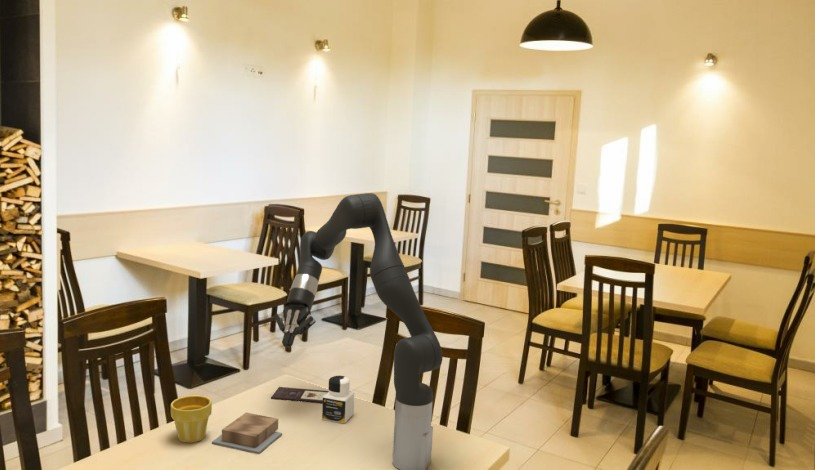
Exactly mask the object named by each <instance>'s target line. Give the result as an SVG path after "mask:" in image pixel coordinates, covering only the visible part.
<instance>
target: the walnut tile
mask: <svg viewBox="0 0 815 470" xmlns="http://www.w3.org/2000/svg"><path fill="white" fill-rule="evenodd" d="M278 429H279V418H276V417H271V416H266V415H261V414H257V413H251V412H245V413H243V414H242V415H240V416H239V417H238V418H236V419H234V420H233V421H232V422H231V423H229V424H227V425H226V426H225V427H223V428H222V429H221V435H222V441H227V442H231V443H236V444H241V445H245V446H250V447H255V448H256V447H257V446H258V445H259V444H261V443H262V442H263V441H264V440H265V439H267V438H268V437H269V436H270V435H271V434H273V433H274V432H277V431H278Z"/></svg>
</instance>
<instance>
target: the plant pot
mask: <svg viewBox="0 0 815 470" xmlns="http://www.w3.org/2000/svg"><path fill="white" fill-rule="evenodd" d="M212 406H213V405H212V400H211V398H210V397H208V396H204V395H197V394H196V395H193V394H192V395H186V396H182V397H181V396H180V397H179V398H176V399H174V400H173V401H172V402H171V403H170V416H171V419H172V420H173V421H174V424H175V430H176V433H177V434H176V435H177V436H178V440H179V441H181V442H182V443H187V444H189V443H191V444H193V443H197V442H200V441H202V440H203V439H204V438H205V437H206V431H207V428H208V427H207V426H208V423H209V422H208V421H209V417H210V416H211V415H212V410H213V409H212V408H213V407H212Z"/></svg>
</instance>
